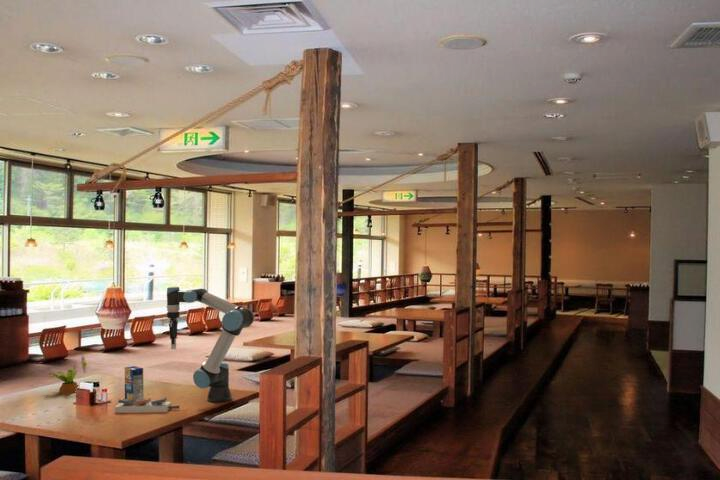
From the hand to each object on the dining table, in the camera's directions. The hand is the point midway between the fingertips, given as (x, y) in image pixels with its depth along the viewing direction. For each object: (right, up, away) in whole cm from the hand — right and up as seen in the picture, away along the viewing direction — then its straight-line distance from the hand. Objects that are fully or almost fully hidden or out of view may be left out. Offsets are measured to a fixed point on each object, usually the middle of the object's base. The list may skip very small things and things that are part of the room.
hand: (173, 349), depth 422 cm
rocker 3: (-2, -27, -25) cm, 36 cm away
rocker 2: (-11, -27, -25) cm, 38 cm away
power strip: (-8, -32, -23) cm, 41 cm away
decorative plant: (-79, -33, +30) cm, 91 cm away
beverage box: (-23, -33, -6) cm, 40 cm away
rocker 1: (-21, -27, -25) cm, 42 cm away
